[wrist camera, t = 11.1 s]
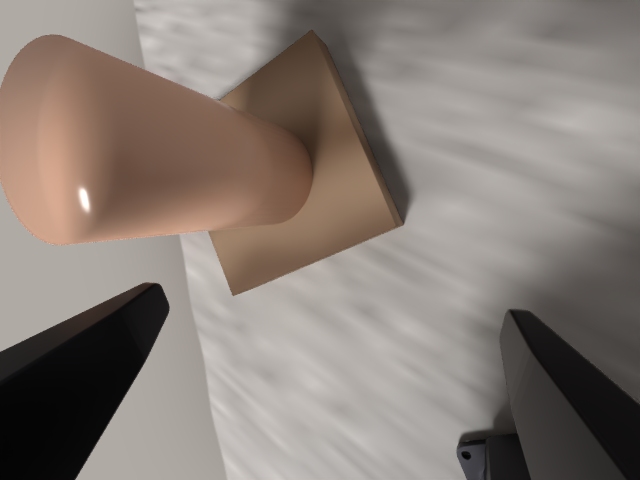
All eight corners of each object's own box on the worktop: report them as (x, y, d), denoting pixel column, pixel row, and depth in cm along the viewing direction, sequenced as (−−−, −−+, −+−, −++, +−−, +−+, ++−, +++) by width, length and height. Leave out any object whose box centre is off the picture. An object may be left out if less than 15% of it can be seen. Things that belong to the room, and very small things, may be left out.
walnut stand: (403, 225, 20) (396, 227, 18) (250, 289, 25) (232, 296, 23) (325, 44, 21) (311, 29, 19) (193, 141, 26) (172, 136, 24)
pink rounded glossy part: (330, 157, 19) (147, 92, 8) (282, 243, 21) (79, 284, 10) (254, 108, 21) (18, 1, 10) (215, 192, 23) (-20, 180, 12)
